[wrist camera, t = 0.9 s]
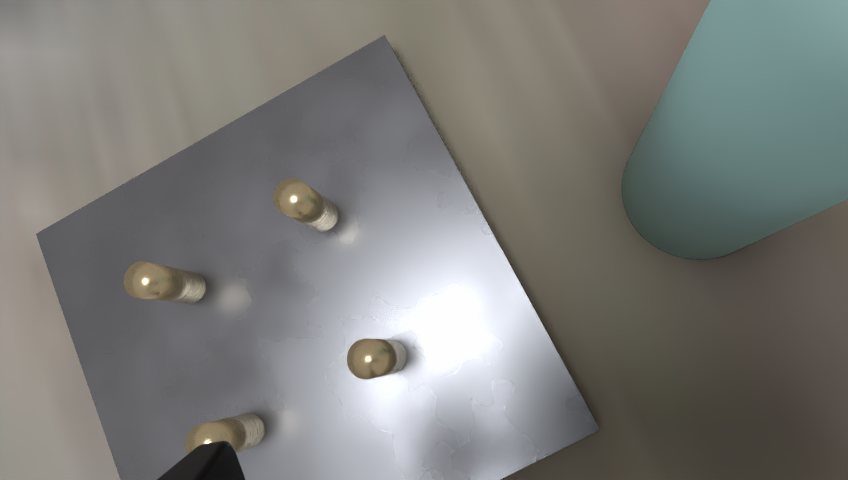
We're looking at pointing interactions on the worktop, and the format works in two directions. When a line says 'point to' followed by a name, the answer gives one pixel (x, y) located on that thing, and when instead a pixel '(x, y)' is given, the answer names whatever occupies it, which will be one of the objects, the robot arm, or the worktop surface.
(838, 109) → the post
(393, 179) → the metal base plate
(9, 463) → the worktop surface
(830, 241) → the worktop surface
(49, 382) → the worktop surface
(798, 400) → the worktop surface
